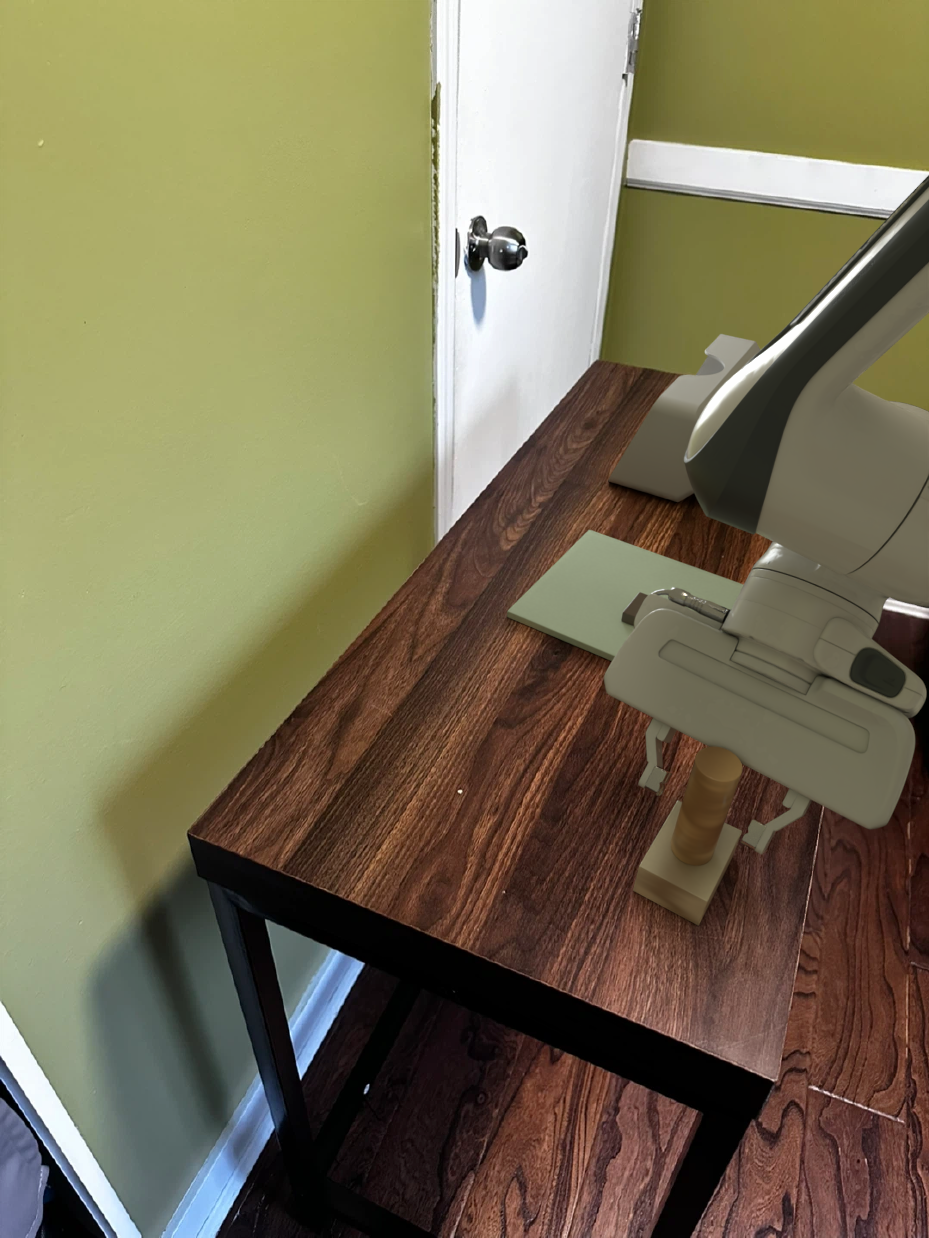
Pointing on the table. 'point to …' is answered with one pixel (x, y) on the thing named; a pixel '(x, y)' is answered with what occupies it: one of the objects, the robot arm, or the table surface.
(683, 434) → the grey stepped block
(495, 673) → the table surface
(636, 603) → the brown flat square block
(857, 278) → the robot arm
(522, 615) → the mat
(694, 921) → the stamp
